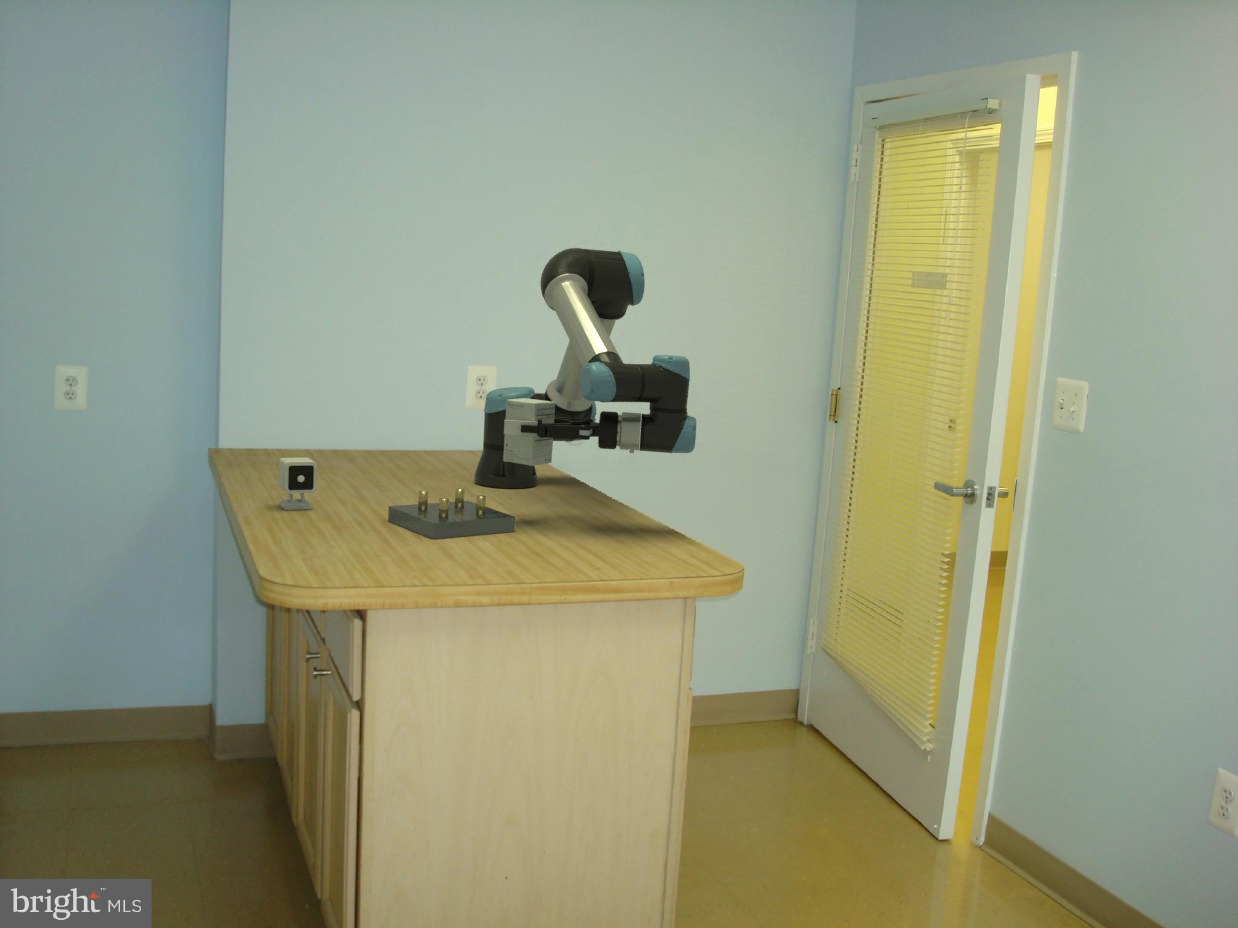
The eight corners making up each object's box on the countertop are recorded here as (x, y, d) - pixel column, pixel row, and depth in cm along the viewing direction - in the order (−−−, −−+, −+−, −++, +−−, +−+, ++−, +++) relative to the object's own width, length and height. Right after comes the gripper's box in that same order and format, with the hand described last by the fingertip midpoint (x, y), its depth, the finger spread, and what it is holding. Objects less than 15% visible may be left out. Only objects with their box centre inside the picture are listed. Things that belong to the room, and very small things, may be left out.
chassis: (467, 514, 240) (468, 483, 239) (514, 531, 226) (516, 498, 225) (388, 521, 228) (389, 488, 228) (432, 539, 215) (433, 504, 214)
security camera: (284, 511, 232) (285, 462, 231) (277, 505, 238) (278, 457, 237) (316, 510, 235) (317, 461, 233) (308, 504, 241) (309, 456, 240)
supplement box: (501, 461, 232) (504, 399, 230) (523, 458, 238) (526, 397, 236) (532, 466, 228) (535, 402, 226) (553, 463, 234) (556, 401, 233)
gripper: (616, 456, 221) (499, 449, 222) (618, 442, 243) (512, 436, 244) (618, 417, 220) (501, 410, 221) (620, 407, 242) (514, 400, 243)
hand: (507, 424), depth 232 cm, fingers closed on supplement box, 10 cm apart
